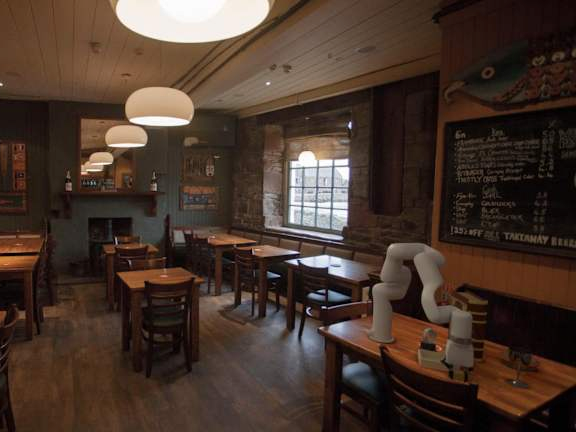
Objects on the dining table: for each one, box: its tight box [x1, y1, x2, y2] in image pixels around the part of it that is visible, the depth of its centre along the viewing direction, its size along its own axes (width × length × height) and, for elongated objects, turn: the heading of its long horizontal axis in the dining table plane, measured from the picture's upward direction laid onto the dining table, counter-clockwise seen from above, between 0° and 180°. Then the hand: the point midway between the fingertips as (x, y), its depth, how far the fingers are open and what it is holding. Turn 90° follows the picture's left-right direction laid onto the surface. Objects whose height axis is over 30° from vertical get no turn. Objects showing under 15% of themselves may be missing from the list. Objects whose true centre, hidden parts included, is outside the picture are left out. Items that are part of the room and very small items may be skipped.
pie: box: [498, 350, 542, 372], centre depth 186 cm, size 15×16×5 cm
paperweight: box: [452, 369, 465, 381], centre depth 172 cm, size 4×4×4 cm
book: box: [417, 348, 461, 373], centre depth 187 cm, size 16×13×4 cm
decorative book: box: [447, 289, 489, 363], centre depth 200 cm, size 22×8×30 cm, turn 168°
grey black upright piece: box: [419, 327, 438, 352], centre depth 204 cm, size 6×8×11 cm
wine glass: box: [506, 346, 533, 389], centre depth 168 cm, size 8×8×15 cm
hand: (457, 379), depth 172 cm, fingers closed on paperweight, 4 cm apart
